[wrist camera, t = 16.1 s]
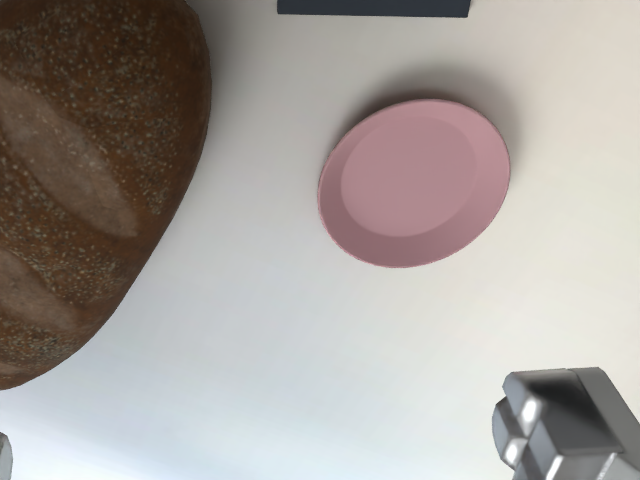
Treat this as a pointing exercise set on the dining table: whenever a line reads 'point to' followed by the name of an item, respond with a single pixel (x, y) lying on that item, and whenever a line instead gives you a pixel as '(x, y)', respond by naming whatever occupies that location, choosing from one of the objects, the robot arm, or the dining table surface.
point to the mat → (376, 7)
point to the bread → (89, 161)
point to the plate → (413, 183)
